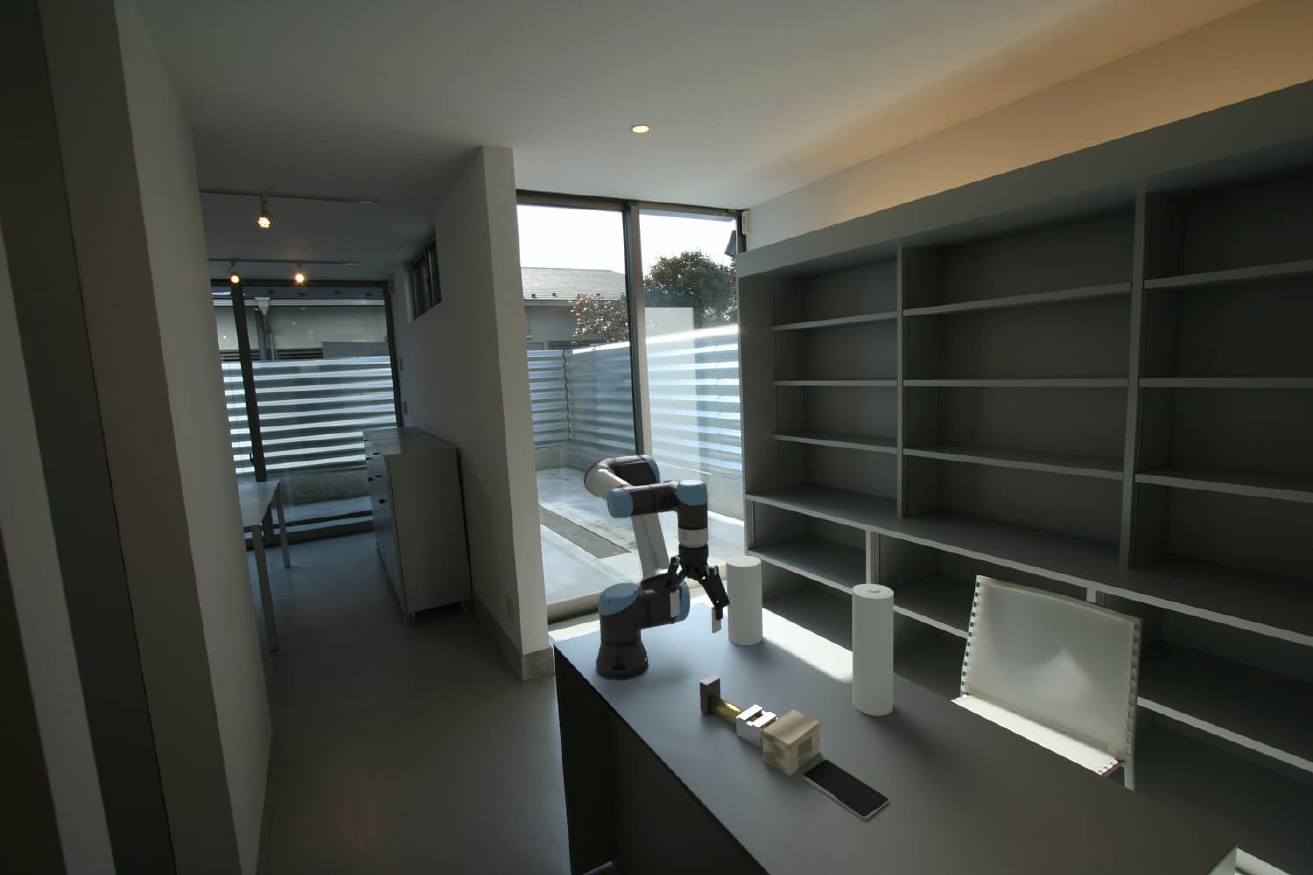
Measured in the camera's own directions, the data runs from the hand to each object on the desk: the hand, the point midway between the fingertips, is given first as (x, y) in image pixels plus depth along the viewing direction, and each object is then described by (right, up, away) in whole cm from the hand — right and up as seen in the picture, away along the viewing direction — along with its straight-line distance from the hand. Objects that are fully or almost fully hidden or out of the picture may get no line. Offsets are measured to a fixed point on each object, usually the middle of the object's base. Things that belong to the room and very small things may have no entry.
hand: (695, 623), depth 151 cm
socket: (+20, -23, -21) cm, 36 cm away
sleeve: (+13, -22, -14) cm, 29 cm away
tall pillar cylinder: (+18, -16, +35) cm, 43 cm away
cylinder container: (+44, -19, -3) cm, 48 cm away
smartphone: (+28, -24, -31) cm, 48 cm away
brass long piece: (+9, -21, -8) cm, 25 cm away
